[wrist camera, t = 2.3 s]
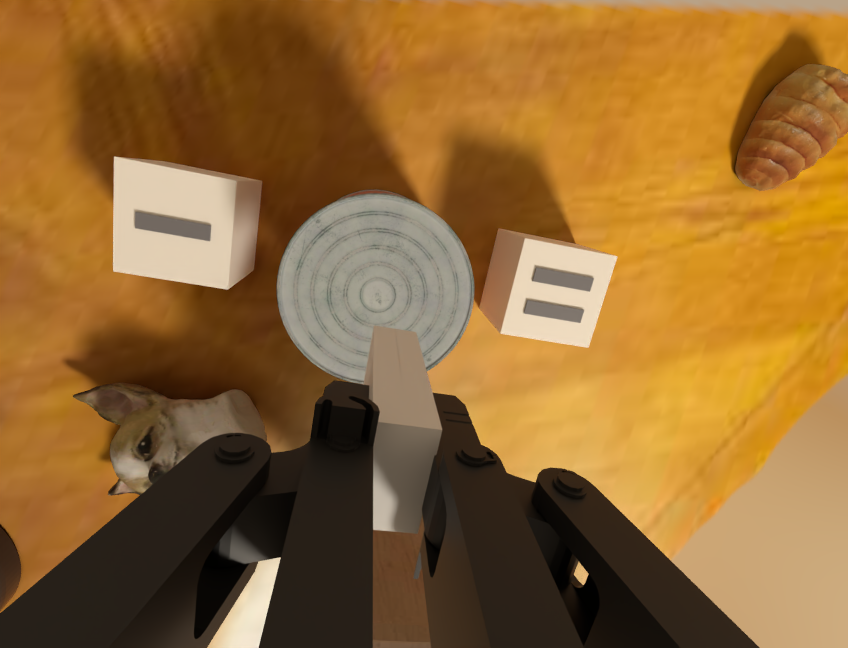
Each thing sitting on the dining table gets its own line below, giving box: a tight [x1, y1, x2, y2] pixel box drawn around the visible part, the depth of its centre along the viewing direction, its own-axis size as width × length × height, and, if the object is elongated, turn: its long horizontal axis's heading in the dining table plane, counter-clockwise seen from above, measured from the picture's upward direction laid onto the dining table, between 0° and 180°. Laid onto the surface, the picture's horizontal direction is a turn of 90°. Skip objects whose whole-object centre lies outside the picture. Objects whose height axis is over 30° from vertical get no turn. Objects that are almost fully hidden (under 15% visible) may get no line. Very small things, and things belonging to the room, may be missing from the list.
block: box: [373, 515, 431, 648], centre depth 35 cm, size 10×10×20 cm
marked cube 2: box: [113, 156, 262, 290], centre depth 32 cm, size 7×7×7 cm
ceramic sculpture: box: [73, 383, 267, 495], centre depth 36 cm, size 11×9×15 cm
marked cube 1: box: [479, 228, 617, 348], centre depth 36 cm, size 7×7×7 cm
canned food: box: [277, 190, 474, 384], centre depth 32 cm, size 11×11×12 cm
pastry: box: [735, 64, 848, 191], centre depth 36 cm, size 9×7×4 cm
